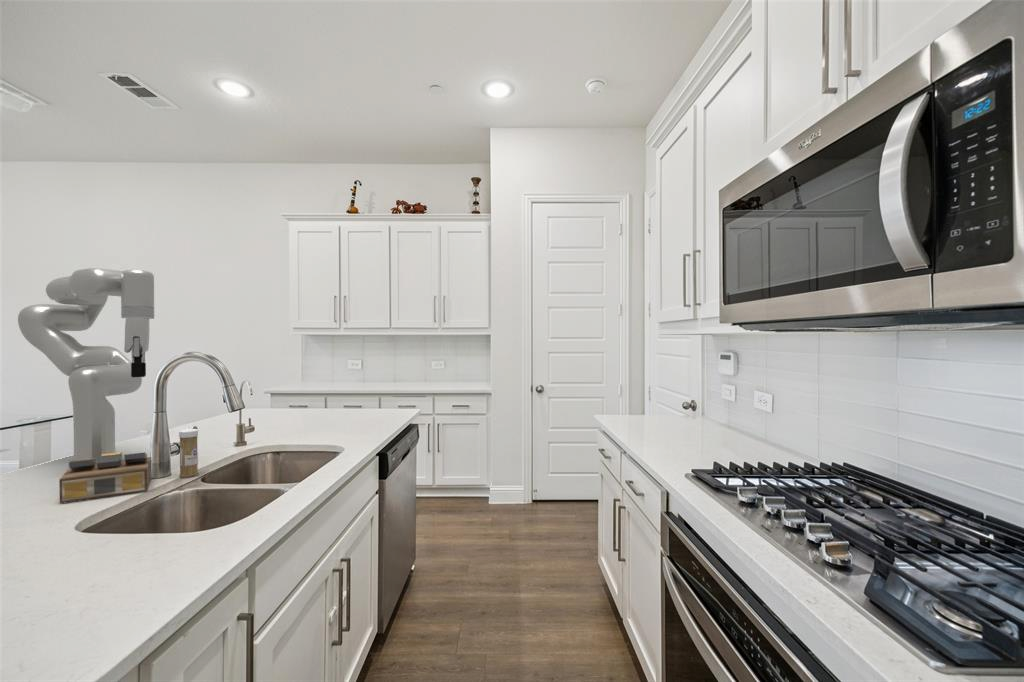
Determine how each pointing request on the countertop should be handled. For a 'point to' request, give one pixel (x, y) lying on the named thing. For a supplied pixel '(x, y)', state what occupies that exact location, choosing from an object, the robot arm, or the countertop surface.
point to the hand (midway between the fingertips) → (138, 376)
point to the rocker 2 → (109, 460)
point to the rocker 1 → (82, 463)
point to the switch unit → (105, 481)
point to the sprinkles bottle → (188, 452)
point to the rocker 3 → (135, 457)
